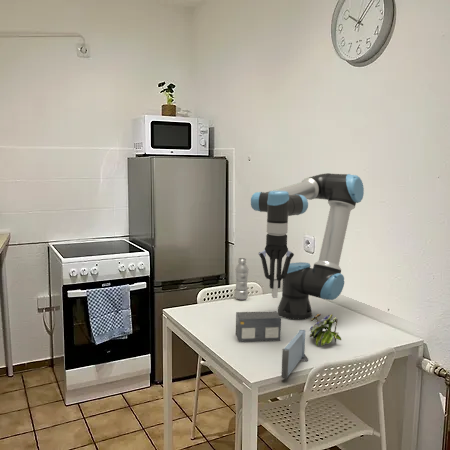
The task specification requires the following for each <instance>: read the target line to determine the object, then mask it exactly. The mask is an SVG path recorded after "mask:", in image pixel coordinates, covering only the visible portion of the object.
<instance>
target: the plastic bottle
mask: <svg viewBox="0 0 450 450" xmlns="http://www.w3.org/2000/svg"><path fill="white" fill-rule="evenodd" d="M237 263H238V264H237V265H236V267H235V271H234V272H235V290H234V297H235V299H236V300H241V301H242V300H246V299H248V296H249V292H248V291H249V290H248V275H249V266H248V265H247V264H246V263H247V258H243V257H240V258H238V262H237Z"/></svg>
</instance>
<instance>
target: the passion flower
mask: <svg viewBox="0 0 450 450" xmlns="http://www.w3.org/2000/svg"><path fill="white" fill-rule="evenodd" d="M321 315H322V314H321V313H318V314H317V315H313V317H312V318H311V319H310V322H314V321H315V320H316V322H315V323H314V324H313V325H312V326H310V328H309V332H310V335H308V337H309V338H313V339H315V345H316V346H317V347H319V345H321V347H322V346H324V345H328V344H330V343H332V341H333V340H334V342H335V344H337V340H338V341H342V337H341V336H340V334H339V332H336V330H337V327H338V318H337V317H336V316H335V317H334V318H333V314H332V313H331V314H330V315H329V314H328V315H326V316H324V317H323V318H321V319H318V317H321ZM333 324H335V327H334V331H332V327H333Z"/></svg>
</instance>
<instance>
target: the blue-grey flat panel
mask: <svg viewBox="0 0 450 450" xmlns="http://www.w3.org/2000/svg"><path fill="white" fill-rule="evenodd" d="M297 331H298V332H297V333H296V335H295V336H294V337H293V338H292V339H291V340H290V341H289V342H288V344H287V345H286V346H285V347H284V348H282V351H281V353H282V354H281V378H282V379H288V378H289V376H290V374H291V373H292V371H293V370H294V369H295V368H296V366H297V365H298V363H299V361H300V359H301V358H302V357H304V354H305V352H306V351H305V350H306V349H305V348H306V347H305V346H306V332H307V331H306V330H305V329H299V330H297Z"/></svg>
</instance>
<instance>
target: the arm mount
mask: <svg viewBox="0 0 450 450" xmlns="http://www.w3.org/2000/svg"><path fill="white" fill-rule="evenodd" d="M299 362H309V358H308V356H306V354H305V353H304V357H302V358H301V359H300V361H299ZM299 362H298V363H299Z"/></svg>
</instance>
